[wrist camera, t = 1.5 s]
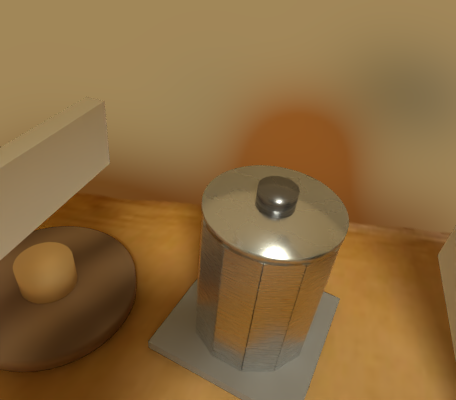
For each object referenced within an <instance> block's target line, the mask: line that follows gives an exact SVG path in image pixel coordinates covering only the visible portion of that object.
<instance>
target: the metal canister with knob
mask: <svg viewBox="0 0 456 400" xmlns="http://www.w3.org/2000/svg"><path fill="white" fill-rule="evenodd" d="M201 211H202V221H201V237H200V253H199V268H198V284H197V299H196V332H197V334H198V335H199V337H200V339H201V340H202V342H203V343H204V345H205V346H206V348H207V350H208V351H209V353H210V354H211V356H213V357H214V358H216V359H218V360H220V361H222V362H224V363H226V364H228V365H229V366H231V367H233V368H235V369H237V370H239V371H241V372H274V371H276V370H278V369H279V368H281V367H282V366H284V365H286V364H287V363H289V362H291V361H292V360H294V359H295V358H297V357H299V355H300V353H301V350H302V348H303V345H304V343H305V340H306V338H307V335H308V333H309V330H310V327H311V325H312V322H313V319H314V316H315V314H316V311H317V308H318V306H319V303H320V300H321V297H322V295H323V292H324V289H325V287H326V284H327V281H328V279H329V276H330V273H331V270H332V268H333V265H334V262H335V260H336V257H337V254H338V251H339V249H340V246H341V245H342V243H343V241H344V239H345V236H346V233H347V230H348V227H349V218H348V213H347V210H346V208H345V206H344V204H343V202H342V201H341V200H340V198H339V197H338V196H337V195H336V194H335V193H334V192H333V191H332V190H331V189H330V188H328V187H327V186H326V185H324V184H323V183H321V182H320V181H318V180H316V179H314V178H312V177H310V176H308V175H306V174H303V173H300V172H298V171H294V170H291V169H286V168H282V167H275V166H247V167H240V168H236V169H233V170H230V171H227V172H225V173H223V174H221V175H219V176H217V177H216V178H215V179H214V180H212V181H211V182H210V183H209V185H208V186H207V187H206V189H205V191H204V194H203V197H202V208H201Z"/></svg>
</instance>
